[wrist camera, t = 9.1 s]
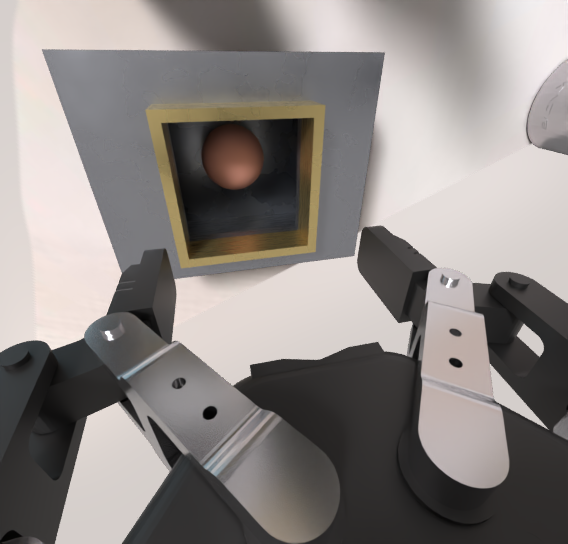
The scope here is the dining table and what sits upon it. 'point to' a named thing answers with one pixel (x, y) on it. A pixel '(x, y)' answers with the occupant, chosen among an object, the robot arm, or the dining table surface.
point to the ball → (232, 156)
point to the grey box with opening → (189, 140)
